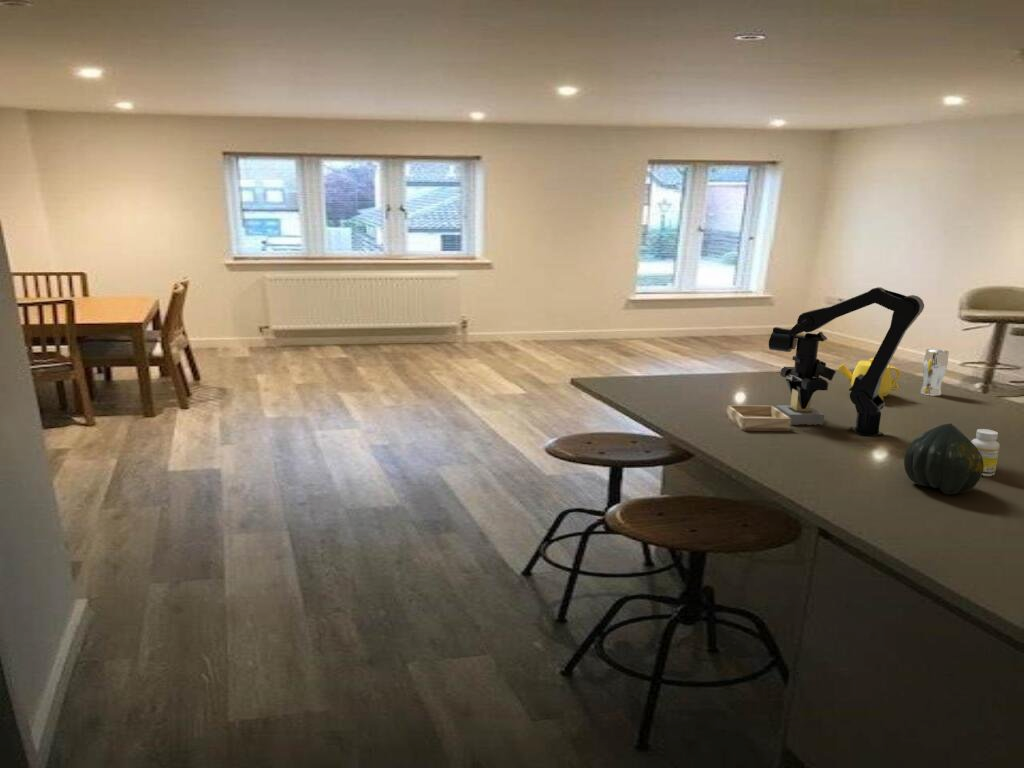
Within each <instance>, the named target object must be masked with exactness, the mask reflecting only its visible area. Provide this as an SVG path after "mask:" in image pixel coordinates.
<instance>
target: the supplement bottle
mask: <svg viewBox="0 0 1024 768" xmlns="http://www.w3.org/2000/svg"><path fill="white" fill-rule="evenodd" d="M998 435H999V432H997V431H995V430H992V429H987V428H978V429H976V433H975V436H976V437H974V438H973V439H972V440H970V441H971V442H972V443H973V444H974V445H975V446H976V448H977V449H978V451H979V452H980V454H981V456H982V458H983V465H984V468H983V473H982V475H983V476H982V477H992V475H993V476H994V475H995V474H996V468H997V464H998V463H997V462H998V457H999V453H1000V452H999V451H1000V446H1001V445H1000V443H999V442H998V441H997V440H998Z"/></svg>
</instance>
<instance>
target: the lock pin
mask: <svg viewBox="0 0 1024 768" xmlns="http://www.w3.org/2000/svg"><path fill="white" fill-rule="evenodd" d="M811 403H812V397H811V398H810V400H809V402H808V405H807V407H806V408H805V409H802V408H801V405H800V400H799V395H798V390H797V389H792V394H791V397H790V405H791V406H790V410H792V411H793V412H801V413H809V412H810V406H811Z"/></svg>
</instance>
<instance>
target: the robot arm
mask: <svg viewBox="0 0 1024 768" xmlns="http://www.w3.org/2000/svg"><path fill="white" fill-rule="evenodd" d="M873 304H877V305H879V306H881V307H883V308H886V309H887V310H890V311H892V315H891V320H890V324H889V325H890V327H889V328H888V331H887V332H886V334H885V336H884V338H883V340H882V342H881V344H880V346H879V348H878V350H877V352H876V353H875V356H874V357H873V358H874V359H873V361H872V363H871V365H870V367H869V369H868V371H867V373H866V374H865V375H862V374H860V375H859V376H857V377H856V378H855V380H854V384H853V386H852V387H851V386H850V388H849V389H848V391H850V393H849V399H850V401H851V403H852V404H854V407H855V410H856V419H855V426H849V429H850V430H851V431H853V432H855V433H857V434H858V435H860V436H884V432H882V431H880V424H881V418H882V412H881V411H882V410H883V408H884V406H885V405H886V402H885V401H884V400H882V399H881V397H880V396H879V395H878V392H879V388H880V385H881V379H882V376H883V374H884V372H885V370H886V368H887V366H888V364H889V365H890V363H891V360H892V358H893V357H894V355H895V353H896V351H897V349H898V347H899V346H900V343H901V341H902V339H903V338H904V336H905V334H906V333H907V330H909V328H910V327H911V326H913V325H912V324H913V323H915V321H916V320H917V318H919V316H920V315H921V314H922V312H923V311H924V308H925V303H924V301H923V299H922V298H921V297H920V296H918V295H915V294H913V295H912V294H911V295H905V294H902V293H899V292H895V291H891V290H887V289H885V288H883V287H882V286H881V287H880V286H877V287H874V288H871V289H869V290H868V291H866V292H863V293H861V294H859V295H856V296H853V297H851V298H847V299H846V300H843V301H842V302H839V303H836V304H833V305H831V306H826V307H821V308H817V309H813V310H812V309H811V310H808V311H805V312H802V313H801V314H799V316H798V318H797V321H796V324H795V325H794V326H793V327H791V329H790V328H782V327H780V326H779V327H778V326H776V327H773V328H772V332H771V334H770V337H769V339H768V348H769V350H770V351H776V352H785V353H791V352H792V351H793V350H795V349H796V351H795V355H794V356H792V359H791V360H793V361H794V366H783V367H782V368H780V376H781V377H783V378H786V377H787V376H788V378H786V379H785V382H786V384H787V387H788V389H789V391H790V394H791V395H792V389H797V390H798V395H799V400H800V405H801V408H802V409H805V408H806V407H807V405H808V402H809V400H810V398H811V399H812V396H813V395H814V393H816V392H817V391H828V389H829V384H830V383H829V382H828V381H831V382H832V381H833V378H834V376H835V375H836V373H837V371H836V370H835V369H833V368H830V367H828V366H827V363H826V362H824V361H822V360H820V358H818V353H819V350H818V349H819V344H820V342H825V341H827V340H828V338H827V336H826V335H825V334H824V333H823V332H822V331H819V332H818V333H812V332H814V331H817V330H819V329H821V328H822V327H824V326H826V325H827V324H829V323H831V322H832V321H833V320H835V319H837V318H840V317H842V316H845V315H847V314H849V313H852V312H856V311H858V310H860V309H862V308H866V307H868V306H870V305H873ZM802 333H805V335H800V334H802ZM826 379H827V380H826Z"/></svg>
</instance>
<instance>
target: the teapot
mask: <svg viewBox="0 0 1024 768" xmlns="http://www.w3.org/2000/svg"><path fill="white" fill-rule="evenodd" d="M873 359H874V357H872V358H869V360H859V361H858V362H857V364H856V366H855V368H854V370H853V373H852V372H851V370H850V369H849V368H848V367H847V366H846V365H845V364H844V363H843V364H841V365H840V366H839V365H838V367H837V370H838V371H839V372H841V374H842V375H843V376H844V377H845V378H846V379H847V380H848V381H849V382H850V388H851V387H852V386H853V384H854V380H855V378H856V377H857V376H859V375H860V374H862V375H865V374H866V373H867V371H868V369H869V367H870V365H871V363H872V361H873ZM892 370H893V371H896V376H895V377H894V379H893V376H892ZM900 376H901V371H900V369H899V368H897V367H895V366H890V363H889V364H888V366H887V368H886V370H885V372H884V374H883V376H882V379H881V385H880V388H879V392H878V395H879V396H880V397H881V399H882V400H883V401H884V400H885V398H884V397H887V396H888V395H889V394H890V392H891V391H896V390H898V388H899V385H898V383H897V381H898V380H899V378H900ZM894 386H895V387H894Z"/></svg>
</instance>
